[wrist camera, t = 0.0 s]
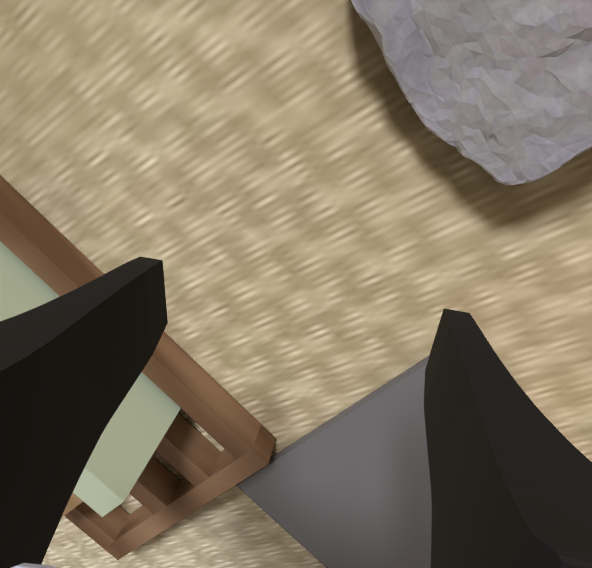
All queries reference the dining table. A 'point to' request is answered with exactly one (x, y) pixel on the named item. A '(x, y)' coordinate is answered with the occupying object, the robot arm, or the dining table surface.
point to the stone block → (494, 77)
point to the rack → (171, 380)
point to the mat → (357, 482)
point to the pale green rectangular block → (126, 420)
